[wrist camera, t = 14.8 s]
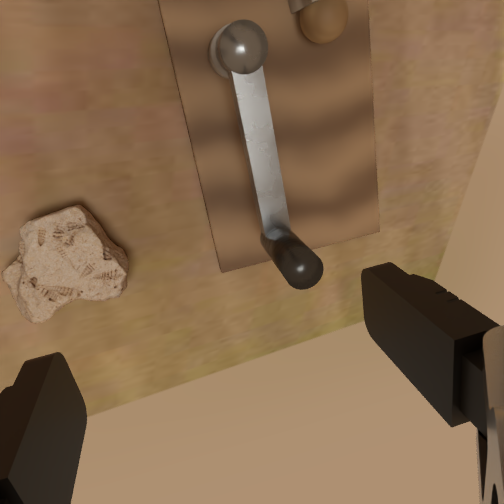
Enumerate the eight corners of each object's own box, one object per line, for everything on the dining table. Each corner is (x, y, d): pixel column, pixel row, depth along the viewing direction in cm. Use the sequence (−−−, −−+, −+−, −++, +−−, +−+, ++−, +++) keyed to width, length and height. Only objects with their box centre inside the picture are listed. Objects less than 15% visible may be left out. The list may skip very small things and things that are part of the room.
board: (153, -18, 33) (153, -41, 27) (358, -50, 35) (398, -77, 29) (220, 268, 43) (230, 294, 37) (374, 228, 45) (405, 247, 40)
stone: (137, 275, 41) (135, 297, 37) (24, 307, 40) (7, 334, 36) (107, 193, 38) (101, 206, 33) (-19, 225, 36) (-43, 243, 32)
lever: (210, 29, 31) (229, 8, 23) (255, 20, 31) (289, -4, 23) (259, 254, 38) (285, 295, 31) (294, 244, 39) (329, 282, 31)
